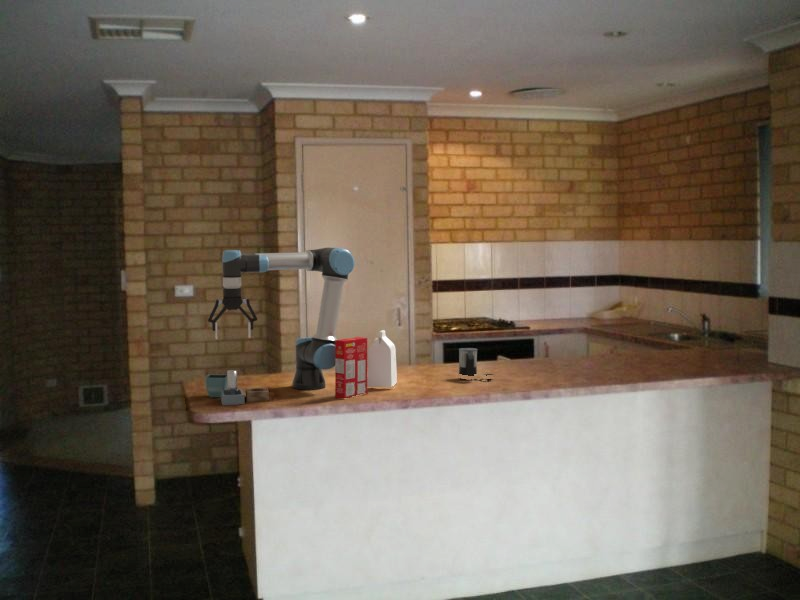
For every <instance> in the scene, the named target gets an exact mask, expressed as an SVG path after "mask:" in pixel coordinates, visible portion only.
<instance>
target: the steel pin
mask: <svg viewBox="0 0 800 600" xmlns="http://www.w3.org/2000/svg"><path fill="white" fill-rule="evenodd" d="M226 375H227V383H228V385H227V390H228V395H237V389H238V370H235V369H234V370H227V374H226Z"/></svg>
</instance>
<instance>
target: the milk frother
mask: <svg viewBox="0 0 800 600" xmlns="http://www.w3.org/2000/svg"><path fill="white" fill-rule="evenodd" d="M478 350H479V349H478V348H473V347H461V348H458V352H459V353H458V354H459V355H458V361H459V362H458V365H459V366H458V375H459V374H462V375H468V376H474V374H477V372H478V371H477V369H478V368H477V367H478V366H477V365H478V363H477V362H478V359H477V358H478ZM477 375H478V374H477ZM484 375H486V376H487V375H494V374H492V373H487V374H484Z"/></svg>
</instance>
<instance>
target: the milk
mask: <svg viewBox="0 0 800 600" xmlns="http://www.w3.org/2000/svg"><path fill="white" fill-rule="evenodd" d="M378 333H379V334H378V337H375V338H374V340H373V341H372V343H371V345H370V346H369V348H368V351H367V387H392V386H394V385H395V384H396V383H397V384H398V378H397V376H398V375H397V373H398V372H397V355H396V354H397V349H396V345H395V343H394V342H393V341H392V340H390V339H389V338H388V336H387V335H386V334H387V333H386V330H385V329H381V330H380V331H379V332H378Z"/></svg>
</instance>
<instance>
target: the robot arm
mask: <svg viewBox="0 0 800 600" xmlns="http://www.w3.org/2000/svg"><path fill="white" fill-rule="evenodd" d="M221 263H222V287H223V288H222V299H218V298H216V299H215V303H214V306H213V308H212V309H211V312H210V314H209V316H208V319H207V322H209V323H211V324H212V326H211V327H212V331H213V332H214V334H215V335H214V336H215V337H214V338H215V340H218V339H219V338H218V323H217V322H218V320H219V319H220V318H221V317H222V315H223V314H225V311H227V310H229V311H232V310H234V311H236V310H239V311H240V312H241V313H242V314H243V315H244V316H245V318H247V319H248V320H249V321H247V326H248V327H247V328H248V330H247V333H248V334H247V336H248V339H251V338H252V332H251V331H252V330H254V322H256V321H258V317H257V315H256V313H255V311H254V309H253V308H252V305H251V303H250V298H245V299H244V298H242V297H243V296H242V274H245V273H253V274H254V273H260V274H261V273H266V272H268V271H277V270H278V271H283V270H285V271H289V270H306V271H307V272H319V273H321V277H322V279H323V288H322V294H321V301H320V307H319V313H318V319H317V326H316V332H315V334H313V335H312V336H309V337H299V338H296V341H295V373H294V376H293V379H292V382H291V383H292V384H291V385H292V388H293V389H295V390H307V391H308V390H309V391H310V390H321V389H323V388H326V380H325V376H324V374H323V370H331V369H333V368H334V367H335V340H338V338H337V337H336V334H337V328H338V320H339V314H340V309H341V301H342V294H343V287H344V284H345V283H346V282H347V281H348V278H349V274H350V273H351V272H353V270H354V267H355V258H354V256H353V254H352V253H351V252H350V250H348V249H346V248H342V247H323V248H317V249H307V250H305V251H304V252H303V251H301V252H262V253H261V252H260V253H259V252H258V253H242V252H241V250H239V249H238V250H236V249H235V250H232V249H231V250H227V249H226V250H224V251H223V252H222V259H221ZM243 303H244V305H246V307H247V308H248V310H249V311H250V315H252V317H251V316H250V315H249V314H248V313H247V311H245V309H244V308H243V307H242V306H241V305H242V304H243ZM221 304H222V305H223V307H222V308H221V310H220V311H219V312H218V313H217V315H216V316H215V313H216V312H217V310H218V308H219V305H221ZM214 316H215V317H214Z"/></svg>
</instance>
